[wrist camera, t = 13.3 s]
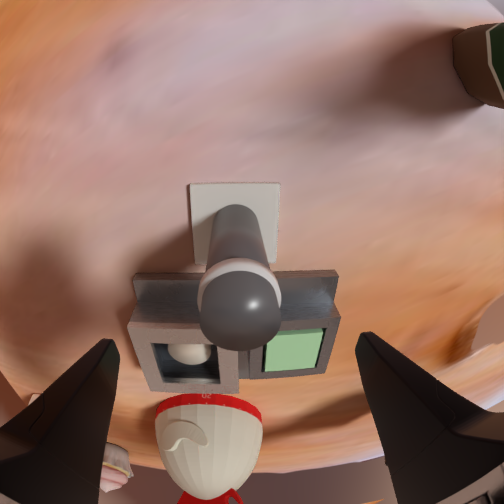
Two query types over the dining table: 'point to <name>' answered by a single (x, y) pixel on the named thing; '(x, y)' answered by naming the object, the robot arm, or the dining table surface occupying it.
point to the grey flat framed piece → (221, 360)
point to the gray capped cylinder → (238, 284)
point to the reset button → (190, 353)
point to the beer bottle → (481, 62)
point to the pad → (227, 193)
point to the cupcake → (114, 468)
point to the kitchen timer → (208, 444)
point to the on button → (292, 350)
